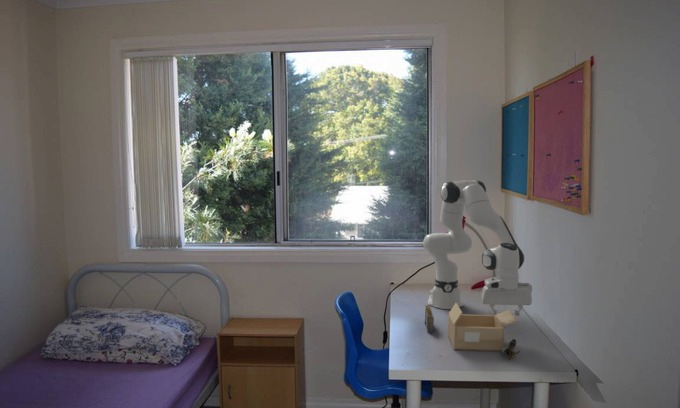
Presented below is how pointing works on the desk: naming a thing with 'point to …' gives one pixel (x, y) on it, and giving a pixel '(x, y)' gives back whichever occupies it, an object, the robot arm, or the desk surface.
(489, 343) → the carton
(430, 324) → the miniature staircase model
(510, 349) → the eagle figurine
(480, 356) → the desk surface
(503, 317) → the flap
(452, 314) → the flap
